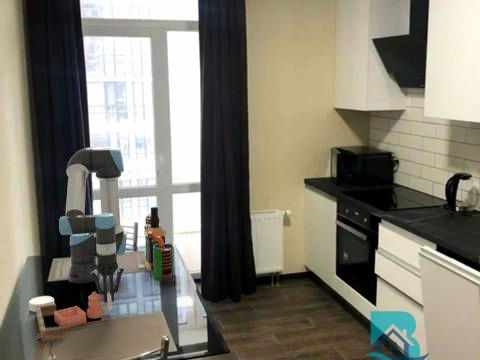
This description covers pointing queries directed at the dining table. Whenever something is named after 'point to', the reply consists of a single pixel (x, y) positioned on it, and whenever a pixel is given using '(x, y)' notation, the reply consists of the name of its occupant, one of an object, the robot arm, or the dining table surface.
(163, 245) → the motor
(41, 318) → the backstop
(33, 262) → the dining table surface
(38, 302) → the coaster
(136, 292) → the dining table surface
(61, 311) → the pottery
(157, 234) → the whiskey bottle
